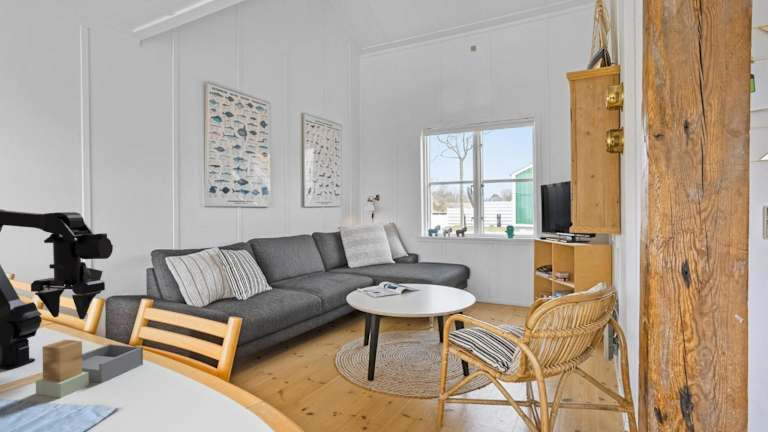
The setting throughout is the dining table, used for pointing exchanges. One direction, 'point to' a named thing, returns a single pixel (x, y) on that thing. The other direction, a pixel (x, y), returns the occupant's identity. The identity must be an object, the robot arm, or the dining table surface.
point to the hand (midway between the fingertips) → (69, 318)
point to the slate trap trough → (111, 361)
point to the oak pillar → (62, 360)
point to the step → (62, 385)
